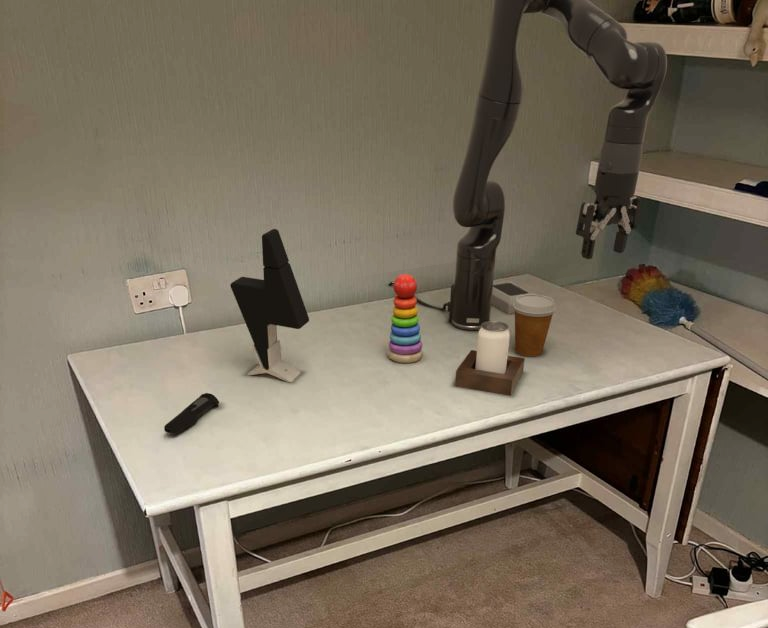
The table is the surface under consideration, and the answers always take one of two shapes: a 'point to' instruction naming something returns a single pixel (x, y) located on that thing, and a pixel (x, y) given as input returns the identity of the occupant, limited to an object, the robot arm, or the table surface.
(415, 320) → the stacking toy
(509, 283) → the keypad
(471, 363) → the can stand
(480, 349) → the can
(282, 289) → the award
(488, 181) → the robot arm
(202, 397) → the electric trimmer
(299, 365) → the table surface
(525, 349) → the disposable coffee cup
